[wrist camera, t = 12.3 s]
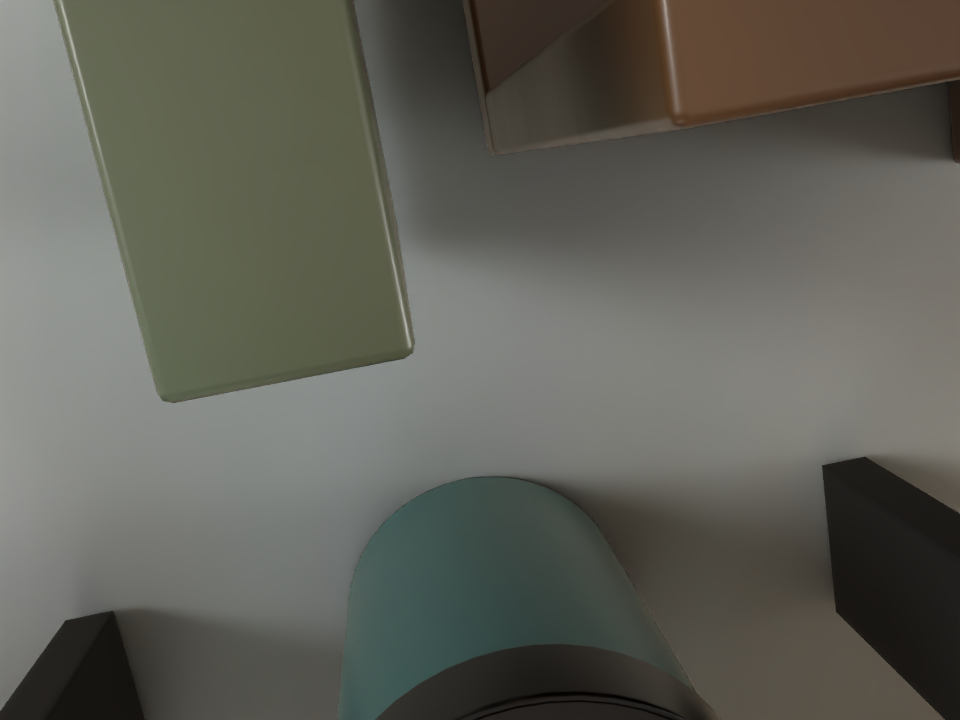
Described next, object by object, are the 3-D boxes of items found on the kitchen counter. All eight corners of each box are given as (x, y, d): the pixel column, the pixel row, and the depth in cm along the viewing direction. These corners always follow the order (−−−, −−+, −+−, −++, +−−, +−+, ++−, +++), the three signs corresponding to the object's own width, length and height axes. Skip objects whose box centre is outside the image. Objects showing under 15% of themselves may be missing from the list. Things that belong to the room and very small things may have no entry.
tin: (373, 759, 16) (363, 1162, 9) (313, 501, 15) (257, 757, 8) (643, 700, 16) (813, 1052, 10) (604, 442, 15) (765, 646, 8)
